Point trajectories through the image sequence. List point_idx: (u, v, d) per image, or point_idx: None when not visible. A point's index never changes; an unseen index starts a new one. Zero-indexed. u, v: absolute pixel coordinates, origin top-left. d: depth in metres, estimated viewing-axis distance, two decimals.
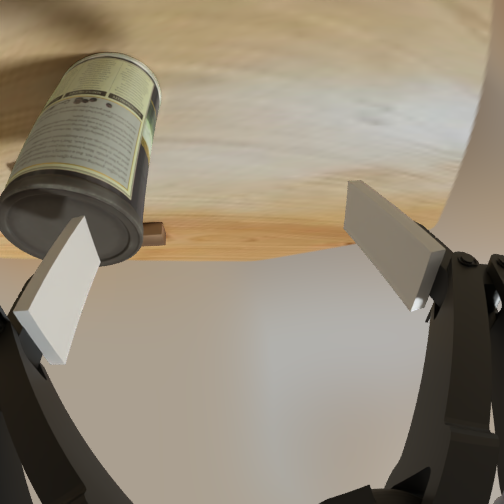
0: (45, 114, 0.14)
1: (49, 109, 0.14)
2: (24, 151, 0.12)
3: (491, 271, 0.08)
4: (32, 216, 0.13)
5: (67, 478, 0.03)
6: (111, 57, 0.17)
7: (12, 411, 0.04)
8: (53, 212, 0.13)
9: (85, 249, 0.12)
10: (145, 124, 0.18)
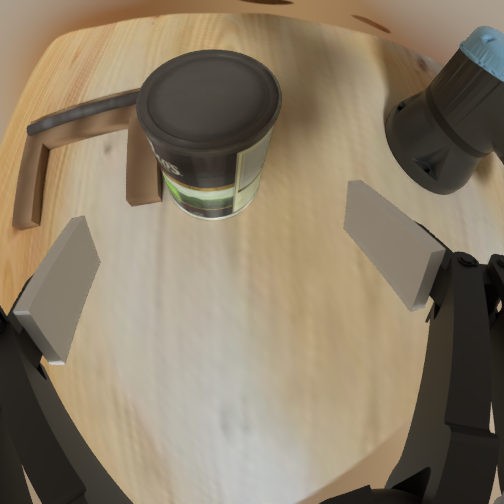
0: None
1: None
2: None
3: (491, 271, 0.08)
4: (238, 77, 0.18)
5: (67, 478, 0.03)
6: None
7: (12, 411, 0.04)
8: (243, 93, 0.18)
9: (85, 249, 0.12)
10: (232, 193, 0.25)
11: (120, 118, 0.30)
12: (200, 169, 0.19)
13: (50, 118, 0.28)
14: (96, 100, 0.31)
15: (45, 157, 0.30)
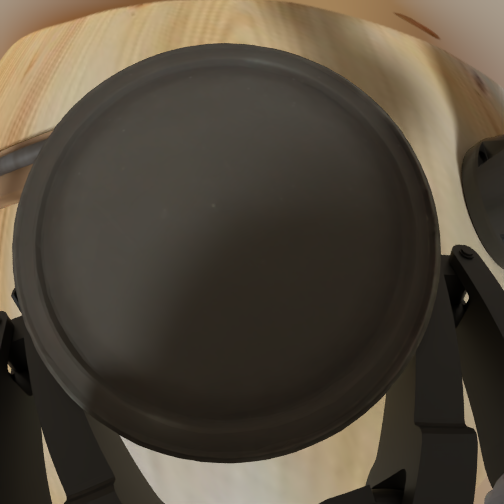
0: None
1: None
2: None
3: (454, 263, 0.08)
4: (319, 143, 0.06)
5: (95, 465, 0.04)
6: None
7: (44, 391, 0.05)
8: (344, 212, 0.06)
9: None
10: None
11: None
12: None
13: None
14: (39, 137, 0.18)
15: None
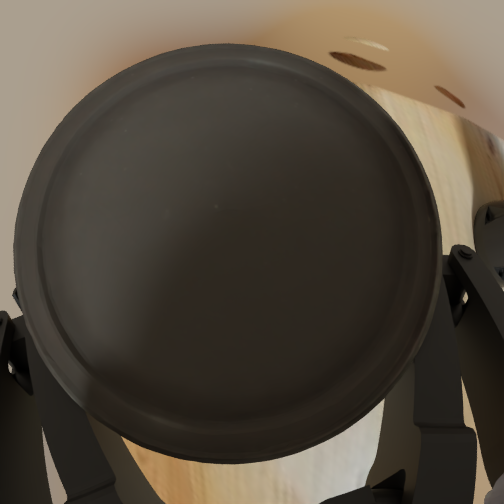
0: None
1: None
2: None
3: (453, 263, 0.08)
4: (321, 144, 0.06)
5: (96, 465, 0.04)
6: None
7: (44, 390, 0.05)
8: (346, 213, 0.06)
9: None
10: None
11: None
12: None
13: None
14: None
15: None
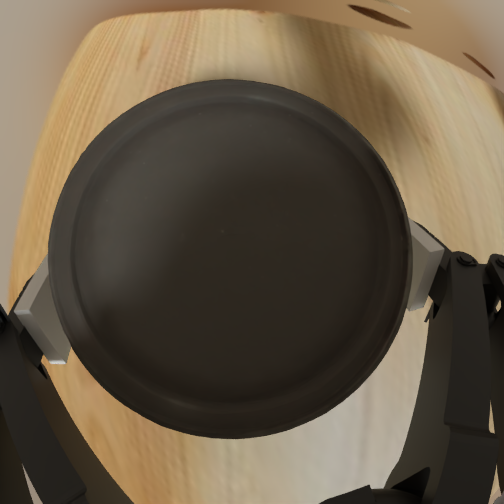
0: None
1: None
2: None
3: (490, 271, 0.08)
4: (310, 176, 0.08)
5: (68, 478, 0.03)
6: None
7: (13, 411, 0.04)
8: (329, 235, 0.07)
9: None
10: None
11: None
12: None
13: None
14: None
15: None
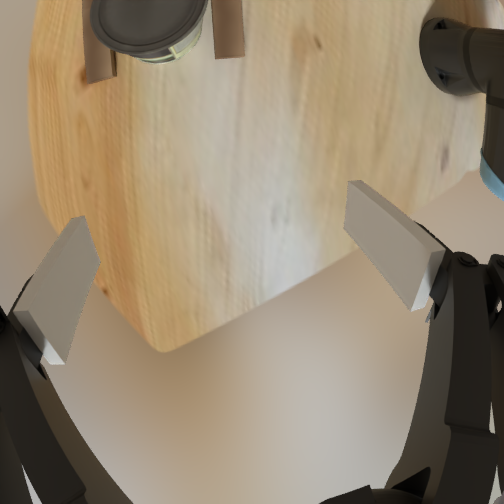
0: None
1: None
2: None
3: (491, 271, 0.08)
4: None
5: (67, 478, 0.03)
6: (200, 33, 0.28)
7: (12, 411, 0.04)
8: (176, 0, 0.16)
9: (85, 249, 0.12)
10: (171, 55, 0.25)
11: None
12: (142, 55, 0.20)
13: None
14: None
15: None
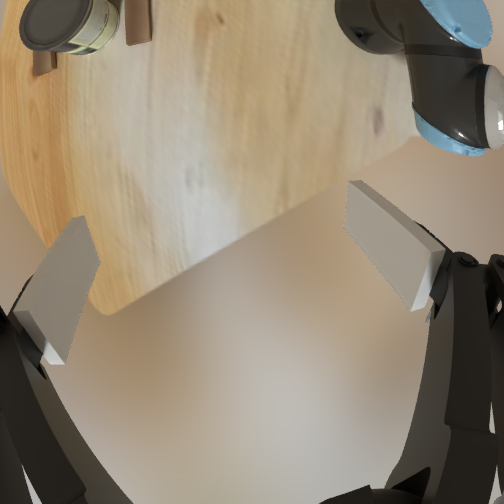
0: (103, 0, 0.23)
1: (105, 2, 0.23)
2: None
3: (491, 271, 0.08)
4: None
5: (67, 478, 0.03)
6: (116, 26, 0.30)
7: (12, 411, 0.04)
8: (70, 7, 0.18)
9: (85, 249, 0.12)
10: (85, 47, 0.27)
11: None
12: (55, 50, 0.22)
13: None
14: None
15: None
